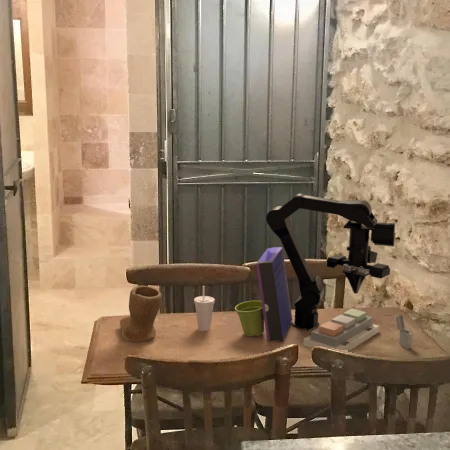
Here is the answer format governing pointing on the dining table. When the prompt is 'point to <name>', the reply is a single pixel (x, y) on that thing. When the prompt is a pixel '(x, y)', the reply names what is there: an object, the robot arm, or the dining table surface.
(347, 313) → the sage key
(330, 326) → the clay key
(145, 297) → the brown clay boot
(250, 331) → the plant pot
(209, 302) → the smoothie
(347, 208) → the robot arm
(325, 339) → the grey piece
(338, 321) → the grey key
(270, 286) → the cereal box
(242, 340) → the dining table surface
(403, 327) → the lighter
